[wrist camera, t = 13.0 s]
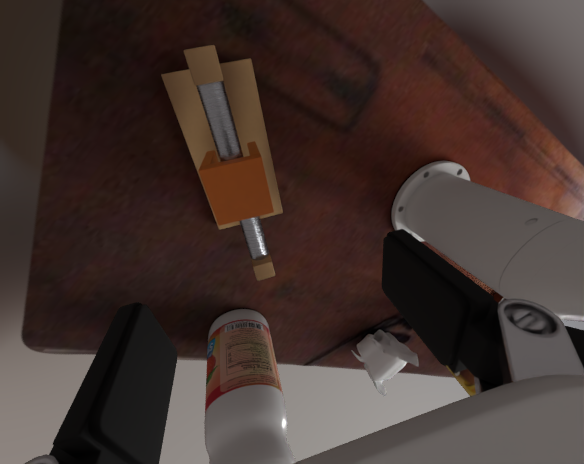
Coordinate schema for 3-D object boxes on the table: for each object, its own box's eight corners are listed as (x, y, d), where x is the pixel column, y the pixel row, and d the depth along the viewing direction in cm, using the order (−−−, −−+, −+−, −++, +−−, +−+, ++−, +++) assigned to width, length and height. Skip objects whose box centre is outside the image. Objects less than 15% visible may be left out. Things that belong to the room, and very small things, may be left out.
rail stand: (249, 59, 23) (274, 34, 13) (281, 209, 32) (311, 265, 22) (163, 75, 22) (116, 60, 12) (219, 225, 31) (219, 292, 20)
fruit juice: (275, 332, 43) (346, 626, 19) (225, 355, 42) (234, 685, 19) (254, 297, 38) (313, 639, 14) (196, 323, 37) (160, 719, 14)
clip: (255, 140, 20) (261, 156, 16) (265, 186, 22) (274, 212, 18) (206, 151, 20) (197, 170, 15) (221, 196, 22) (218, 226, 17)
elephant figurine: (368, 315, 47) (397, 357, 40) (403, 330, 53) (434, 369, 45) (337, 347, 50) (358, 393, 42) (374, 358, 55) (398, 400, 48)
